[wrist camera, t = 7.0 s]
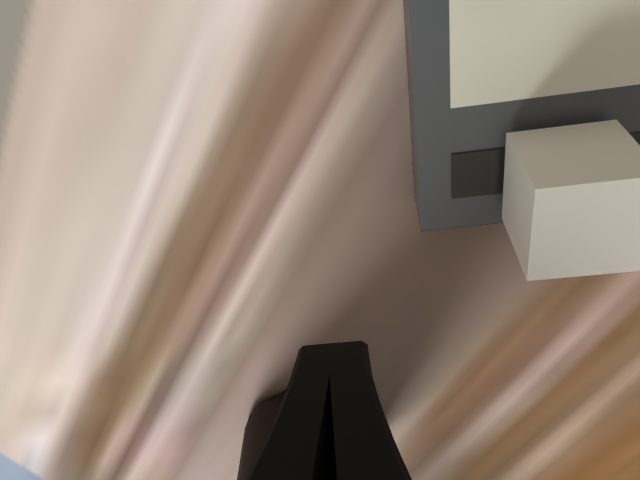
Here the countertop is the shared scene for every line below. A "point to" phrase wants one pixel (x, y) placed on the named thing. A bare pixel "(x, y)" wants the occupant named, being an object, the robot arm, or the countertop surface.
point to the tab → (573, 200)
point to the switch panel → (508, 89)
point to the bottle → (257, 433)
